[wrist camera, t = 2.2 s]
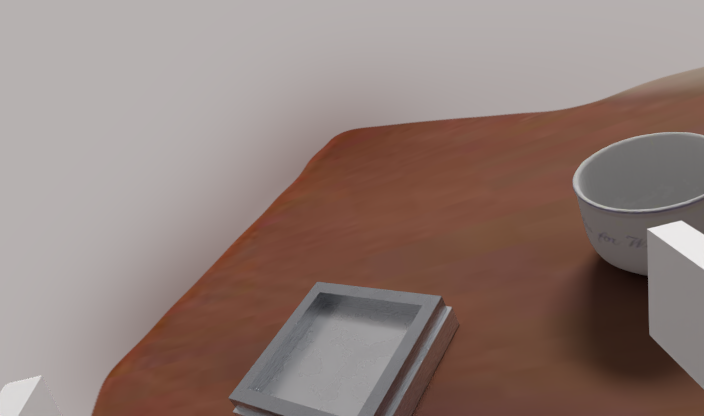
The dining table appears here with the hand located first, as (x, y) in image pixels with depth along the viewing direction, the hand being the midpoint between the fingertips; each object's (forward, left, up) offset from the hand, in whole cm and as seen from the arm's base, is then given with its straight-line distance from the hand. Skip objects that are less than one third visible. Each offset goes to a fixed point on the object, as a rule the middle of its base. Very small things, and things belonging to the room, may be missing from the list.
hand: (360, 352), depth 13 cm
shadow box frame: (-16, -23, -26) cm, 38 cm away
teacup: (-33, -1, -27) cm, 42 cm away
